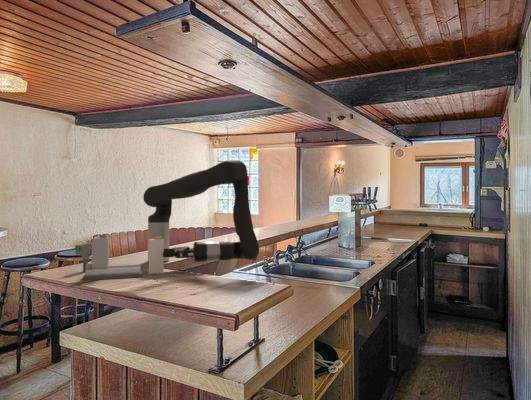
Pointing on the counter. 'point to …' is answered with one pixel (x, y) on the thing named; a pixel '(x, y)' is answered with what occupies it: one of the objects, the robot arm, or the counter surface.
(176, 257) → the robot arm
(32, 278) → the counter surface
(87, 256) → the mechanical component
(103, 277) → the grey l-shaped block
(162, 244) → the cream module
